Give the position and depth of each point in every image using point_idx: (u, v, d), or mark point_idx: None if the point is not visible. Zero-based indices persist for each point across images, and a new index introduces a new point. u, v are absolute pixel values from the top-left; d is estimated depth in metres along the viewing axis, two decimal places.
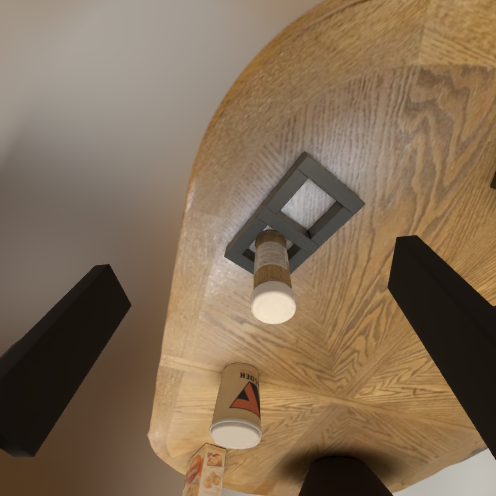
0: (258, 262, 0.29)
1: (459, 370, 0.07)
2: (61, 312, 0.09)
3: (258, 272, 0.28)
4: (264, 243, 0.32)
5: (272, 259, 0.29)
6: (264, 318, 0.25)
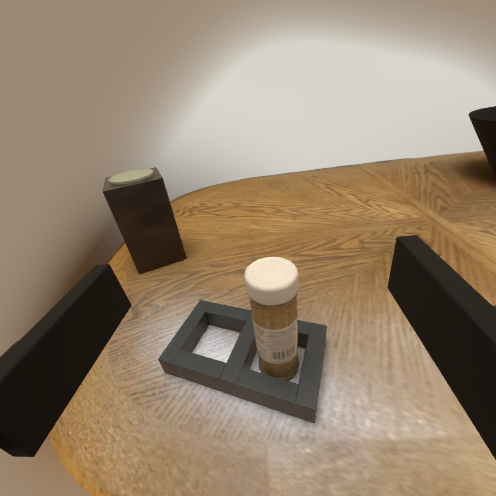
0: (266, 337, 0.22)
1: (459, 370, 0.07)
2: (61, 312, 0.09)
3: (266, 325, 0.22)
4: (262, 358, 0.25)
5: (253, 324, 0.23)
6: (288, 272, 0.20)
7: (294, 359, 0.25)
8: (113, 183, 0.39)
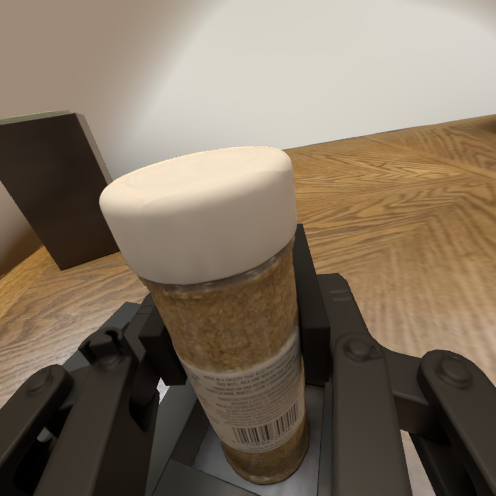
0: (209, 393, 0.07)
1: None
2: None
3: (199, 357, 0.07)
4: None
5: None
6: (255, 157, 0.05)
7: (299, 430, 0.10)
8: None
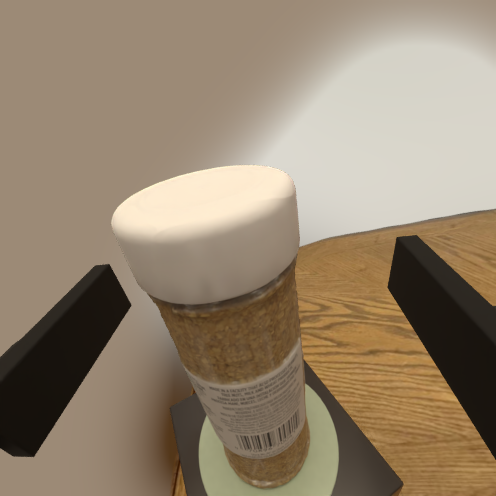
0: (214, 403, 0.08)
1: (459, 370, 0.07)
2: (61, 312, 0.09)
3: (204, 369, 0.07)
4: (221, 441, 0.10)
5: None
6: (260, 181, 0.06)
7: (300, 436, 0.10)
8: None
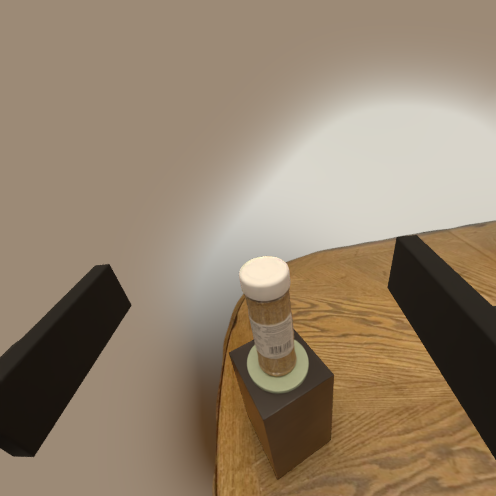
0: (263, 333, 0.24)
1: (459, 370, 0.07)
2: (61, 312, 0.09)
3: (262, 320, 0.23)
4: (261, 354, 0.26)
5: (250, 321, 0.25)
6: (279, 269, 0.22)
7: (291, 353, 0.26)
8: (264, 389, 0.27)
